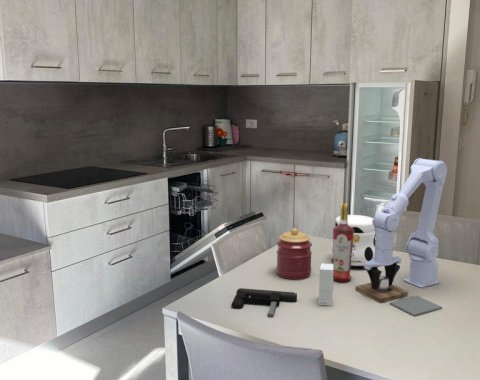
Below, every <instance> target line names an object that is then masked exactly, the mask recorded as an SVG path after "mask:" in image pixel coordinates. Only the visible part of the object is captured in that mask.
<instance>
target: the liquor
mask: <svg viewBox="0 0 480 380" xmlns="http://www.w3.org/2000/svg"><path fill="white" fill-rule="evenodd" d="M348 212H349V203H346V202H345V203H344V202H343V203H340V215H339V216H340V224H339V225H338V226H336V227H335V226H334V227H333V228H332V247H333V255H332V259H333V263H332V264H333V268H334V271H333V280H335V281H337V282H339V283H340V282H341V283H345V282H348V281H349V280H350V279H352V276H351V268H352V267H351V256H352V247H353V236H354V229H353V228H352V227H350V226H348V217H347V215H348Z"/></svg>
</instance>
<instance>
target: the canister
mask: <svg viewBox="0 0 480 380" xmlns="http://www.w3.org/2000/svg"><path fill="white" fill-rule="evenodd" d="M278 237H279V240H278V241H277V242H276V246H277V250H276V274H277V275H278V276H279V277H280V278H283V279H288V280H303V279H306V278H309V277H310V276H311V273H312V255H313V254H312V252H313V251H312V250H311V247H312V245H313V243H312V242H311V241H310V239H311V238H310V236H309V235H307V234H306V233H305V232H303V231H299V229H298V228H296V227H294V228H291V231H290V230H289V231H285V232H284V233H282V234H280V235H279V236H278Z"/></svg>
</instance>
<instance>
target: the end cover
mask: <svg viewBox="0 0 480 380" xmlns="http://www.w3.org/2000/svg"><path fill="white" fill-rule="evenodd" d="M388 288H389V278H388V277H387V276H385V275H382V274H381V275H380V278H379V284H378V289H375V290H376V291H378V292H380V293H384V292H388Z"/></svg>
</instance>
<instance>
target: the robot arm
mask: <svg viewBox="0 0 480 380" xmlns="http://www.w3.org/2000/svg"><path fill="white" fill-rule="evenodd" d="M447 174H448V167H447V165H446V163H445V162H444V161H443V160H435V159H427V158H426V159H425V158H422V157H418V158H416V159H415V160H414V161H413V163H412V165H411V166H410V174H409V176H408V177H407V178H406V180H405V182H404V184H403V185H402V187H401V189H400V191H399V192H397V193H394V194H393V195H392V196H391V197H390V199H389V200H388V202H387V203H386V204H385V206H384V207H383V208H382V209H381V210H379V211H377V212H376V213H375V215H374V216H373V218H374V219H373V220H372V223H373V225H374V228H375V230H374V231H375V233H376V235H375V257H373V260H371V261H369V262H366V263H364V267H363V269H365V270H366V272H367V274H368V276H369V279H370V283H371V285H372V288H374V289H378V284H379V278H380V275H381V276H382V272H383V271H382V270H380V269H379V268H381V267H384V272H385V275H384V276H387V277H388V278H389V286H391V285H393V282H394V279H395V277H396V275H397V273H398V271H399V270H400V268H401V266H400V264H401V263H402V257H400V256H398V255H397V256H396V255H395V256H393V253H394V237H395V236H394V235H395V230H396V229H398V227H399V224H400V220H401V216H402V214H403V213H404V211H405V209H407V207H408V206H409V203H410V202H409V199H410V197H411V196H412V194H413V193H414V192H415V191H416V190H417V189H418V187H419V186H420V185H421V184H424V186H425V190H424V194H423V199H422V205H421V210H420V214H419V218H418V224H417V229H416V230H415V231H413V232H411V233H410V234H409V238H408V240H407V241H406V244H405V251H406V253H407V254H408V257H409V259H410V261H409V276H408V277H406V278H403V281H404V282H406V283H408V284H411V285H413V286H415V287H417V288H425V287H428V286H432V285H437V284H439V283H440V281H438V276H439V275H438V273H439V263H438V260H437V259H436V258H437V257H438V255H439V243H440V242H439V241H440V240H439V239H438V237H436V235H435V234H434V230H435V224H436V221H437V215H438V212H439V206H440V201H441V197H442V193H443V188H444V186H445V183H446V182H445V181H446V178H447ZM398 264H399V265H398Z"/></svg>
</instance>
